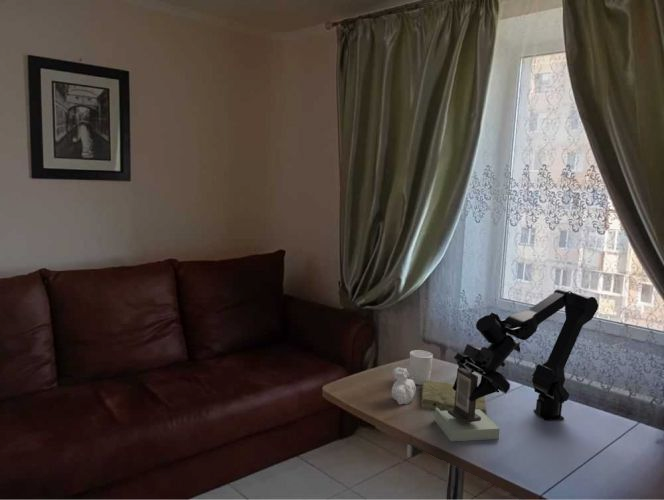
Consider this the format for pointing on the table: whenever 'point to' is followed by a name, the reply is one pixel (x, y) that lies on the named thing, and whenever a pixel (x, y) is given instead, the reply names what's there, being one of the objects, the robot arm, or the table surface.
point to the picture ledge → (466, 427)
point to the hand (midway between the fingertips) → (461, 394)
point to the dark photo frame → (465, 397)
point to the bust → (403, 386)
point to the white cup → (420, 366)
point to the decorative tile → (443, 397)
